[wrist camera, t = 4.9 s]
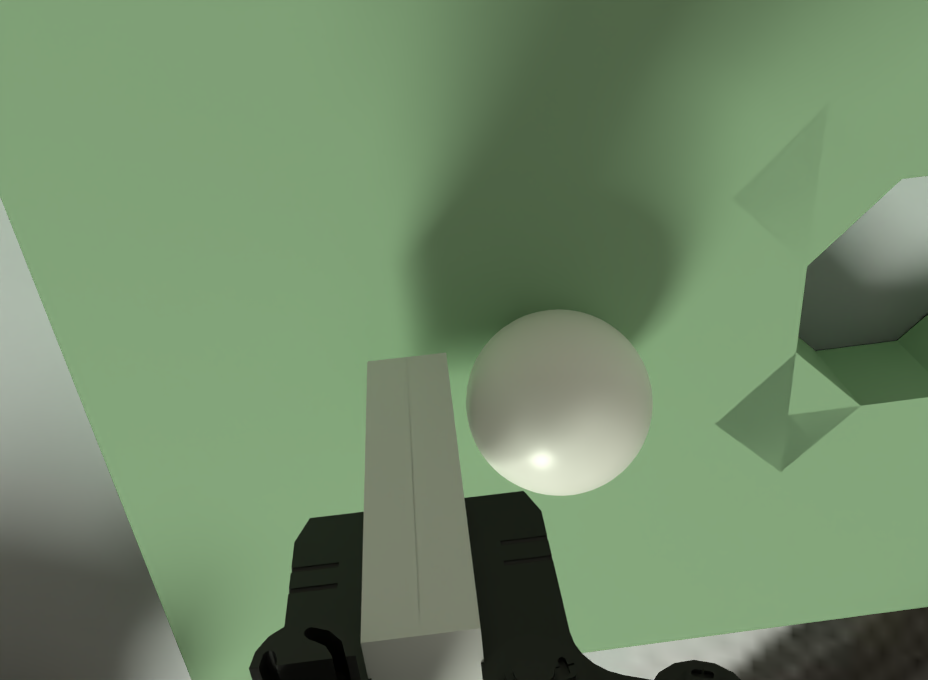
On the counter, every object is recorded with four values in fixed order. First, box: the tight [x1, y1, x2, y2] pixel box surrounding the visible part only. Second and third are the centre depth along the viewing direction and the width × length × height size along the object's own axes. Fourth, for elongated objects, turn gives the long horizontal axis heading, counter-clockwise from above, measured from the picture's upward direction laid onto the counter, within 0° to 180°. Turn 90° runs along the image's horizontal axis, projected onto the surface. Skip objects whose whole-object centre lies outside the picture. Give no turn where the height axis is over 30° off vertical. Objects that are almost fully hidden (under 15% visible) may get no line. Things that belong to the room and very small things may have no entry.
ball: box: [466, 309, 653, 496], centre depth 17 cm, size 4×4×4 cm
